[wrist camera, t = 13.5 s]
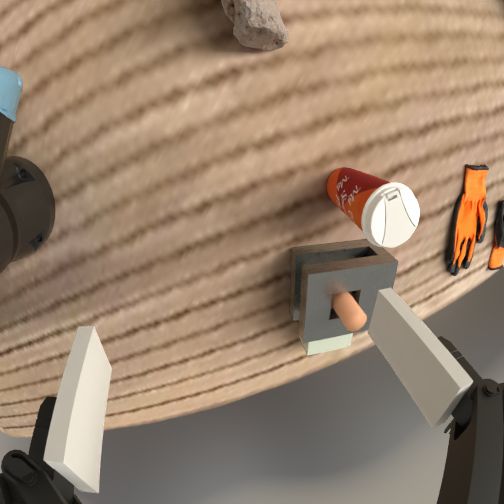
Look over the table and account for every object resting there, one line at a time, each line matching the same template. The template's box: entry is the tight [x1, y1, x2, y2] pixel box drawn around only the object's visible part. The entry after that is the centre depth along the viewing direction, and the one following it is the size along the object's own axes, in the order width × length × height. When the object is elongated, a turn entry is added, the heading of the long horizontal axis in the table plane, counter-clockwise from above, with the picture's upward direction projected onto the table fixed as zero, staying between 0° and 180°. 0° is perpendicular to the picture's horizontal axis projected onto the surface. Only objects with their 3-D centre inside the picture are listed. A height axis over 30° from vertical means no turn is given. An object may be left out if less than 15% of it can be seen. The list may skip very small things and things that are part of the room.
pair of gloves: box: [446, 164, 504, 276], centre depth 51 cm, size 27×24×3 cm
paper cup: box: [327, 168, 420, 247], centre depth 37 cm, size 8×8×14 cm
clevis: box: [289, 239, 398, 343], centre depth 46 cm, size 14×12×8 cm
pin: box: [331, 292, 367, 331], centre depth 45 cm, size 3×3×12 cm
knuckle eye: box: [299, 291, 353, 355], centre depth 49 cm, size 8×16×5 cm, turn 2°
